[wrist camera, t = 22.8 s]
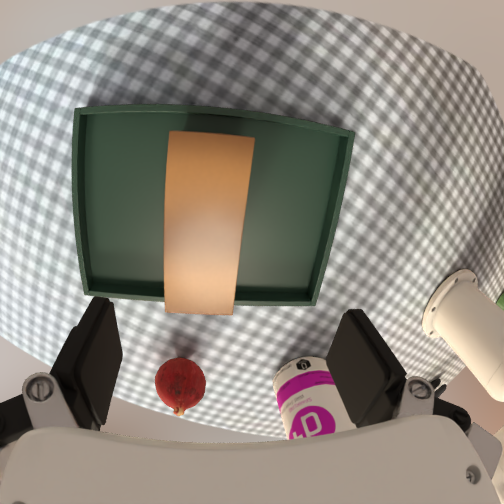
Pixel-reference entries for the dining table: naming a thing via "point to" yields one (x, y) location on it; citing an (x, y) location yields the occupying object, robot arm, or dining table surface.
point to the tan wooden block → (204, 219)
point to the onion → (180, 384)
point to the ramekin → (501, 302)
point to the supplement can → (309, 399)
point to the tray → (257, 207)
